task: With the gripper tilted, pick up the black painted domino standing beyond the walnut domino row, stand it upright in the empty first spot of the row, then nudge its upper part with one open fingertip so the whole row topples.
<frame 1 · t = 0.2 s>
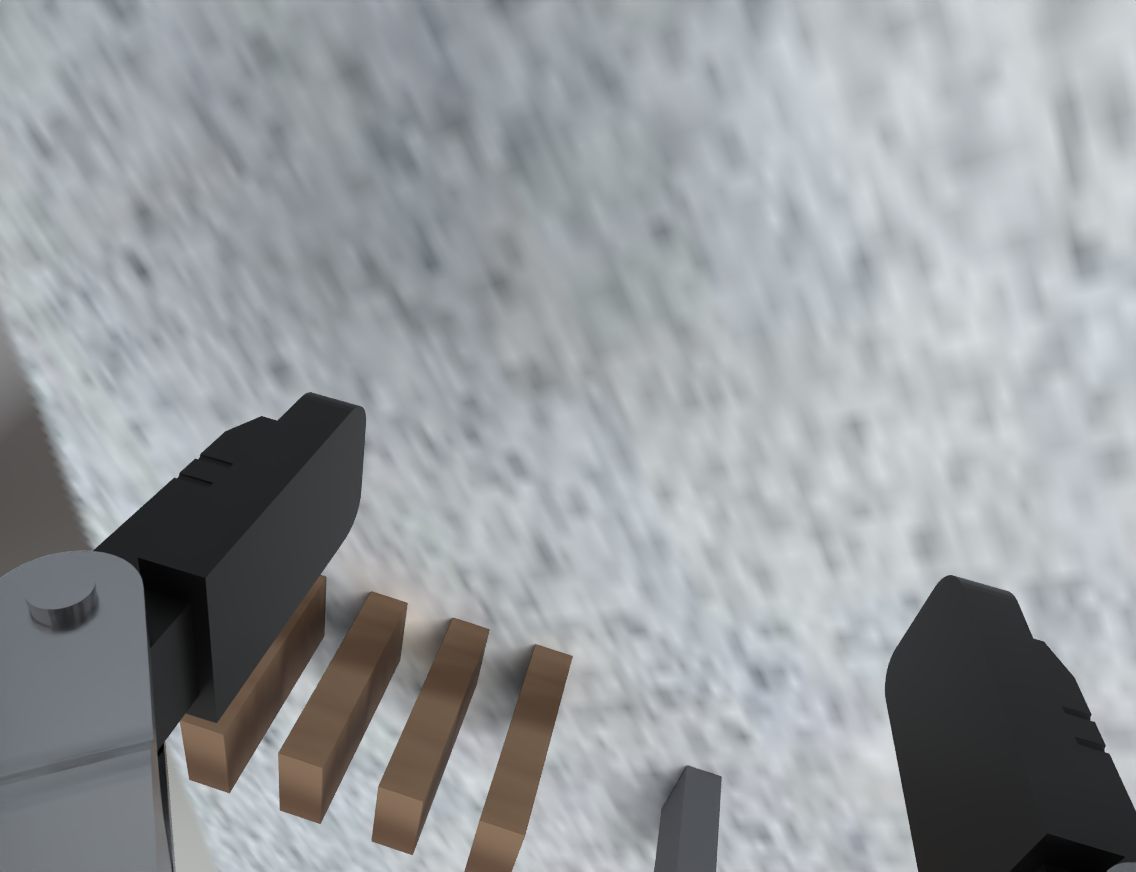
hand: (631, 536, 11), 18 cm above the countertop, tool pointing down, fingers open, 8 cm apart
domino 4: (386, 627, 42), on the countertop
domino 1: (690, 793, 45), on the countertop
domino 3: (465, 652, 42), on the countertop
domino 2: (544, 678, 42), on the countertop
domino 5: (307, 601, 42), on the countertop
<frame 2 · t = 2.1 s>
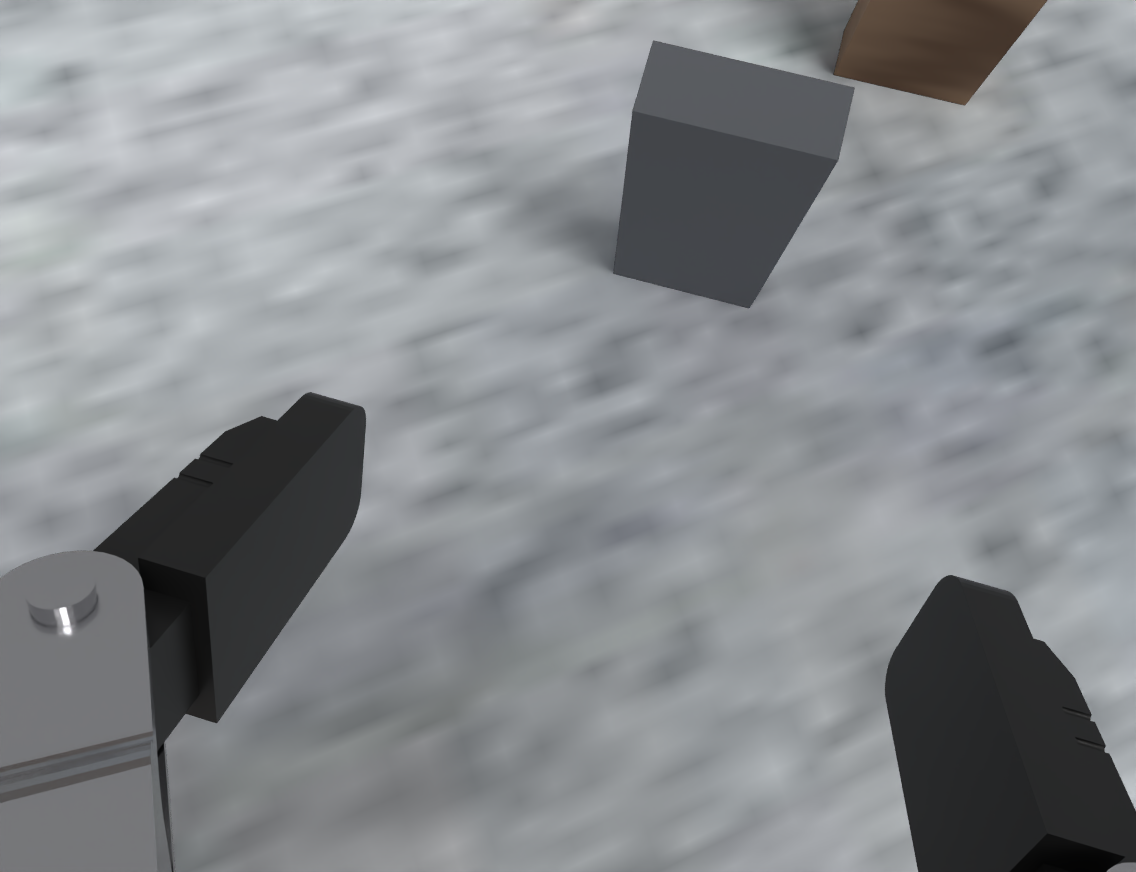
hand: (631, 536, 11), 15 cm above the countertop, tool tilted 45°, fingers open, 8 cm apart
domino 1: (687, 265, 28), on the countertop
domino 2: (903, 67, 30), on the countertop
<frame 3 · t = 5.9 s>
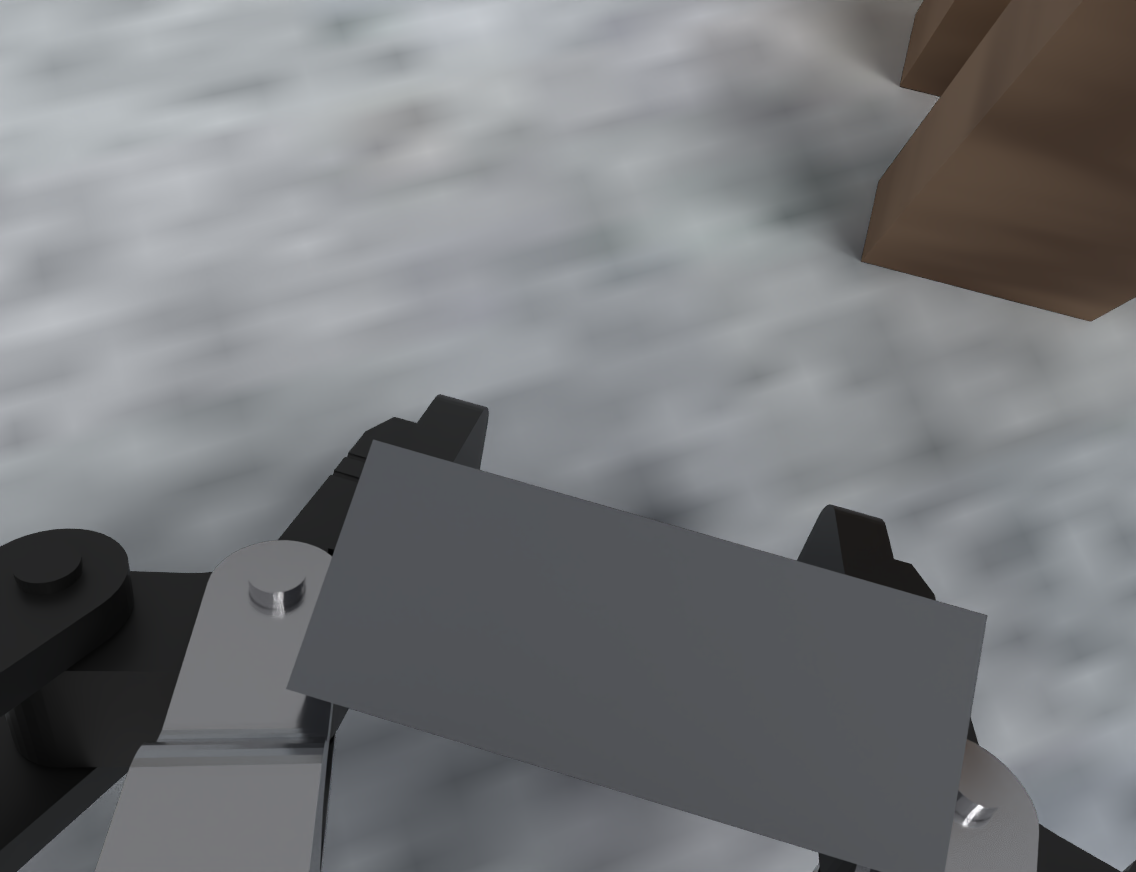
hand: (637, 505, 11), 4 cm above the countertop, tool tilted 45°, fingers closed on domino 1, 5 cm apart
domino 1: (594, 625, 15), on the countertop, touching gripper
domino 3: (1014, 76, 18), on the countertop
domino 2: (982, 249, 17), on the countertop
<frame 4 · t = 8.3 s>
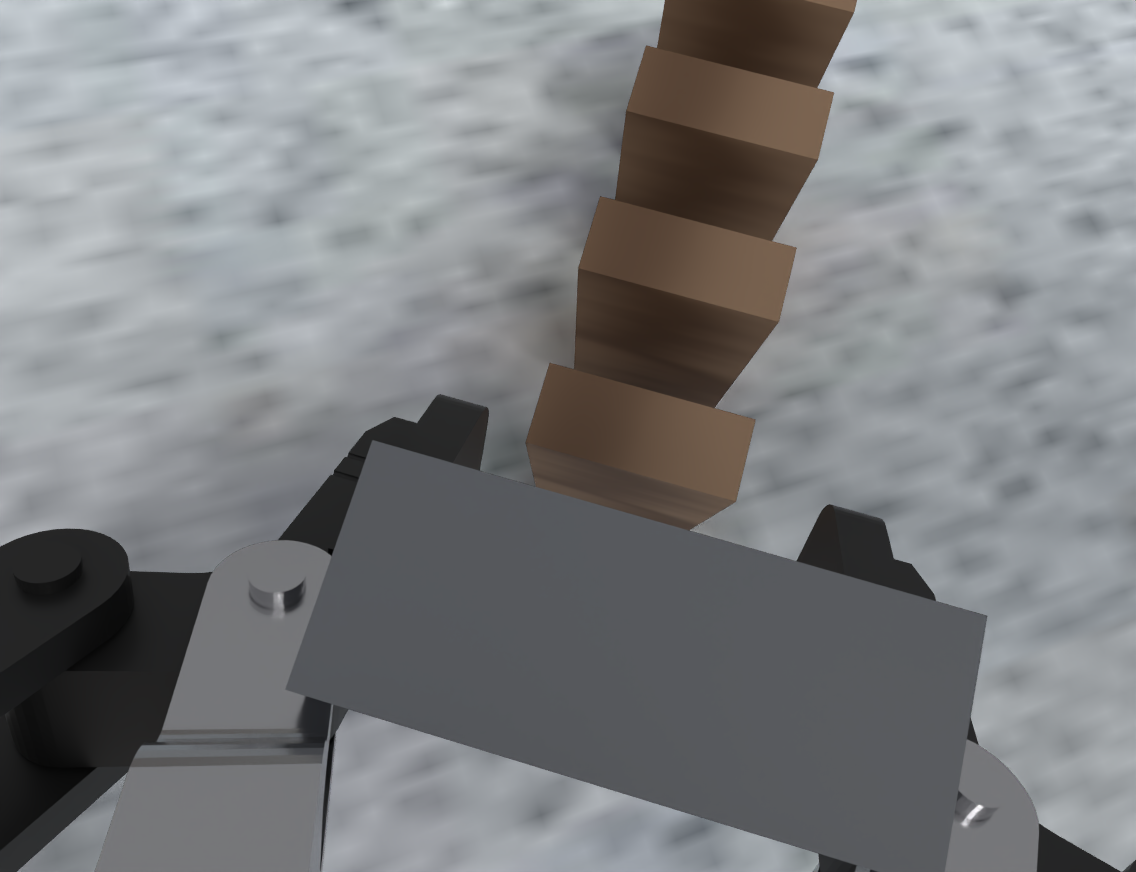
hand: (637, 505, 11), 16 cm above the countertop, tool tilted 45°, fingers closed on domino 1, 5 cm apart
domino 4: (677, 262, 29), on the countertop
domino 1: (594, 625, 15), point 11 cm above the countertop, touching gripper
domino 3: (647, 372, 28), on the countertop
domino 2: (614, 490, 27), on the countertop
domino 5: (706, 158, 30), on the countertop
when the fingers open (5 cm above the countertop, at t = 10.6 s): domino 1 stays where it is, on the countertop.
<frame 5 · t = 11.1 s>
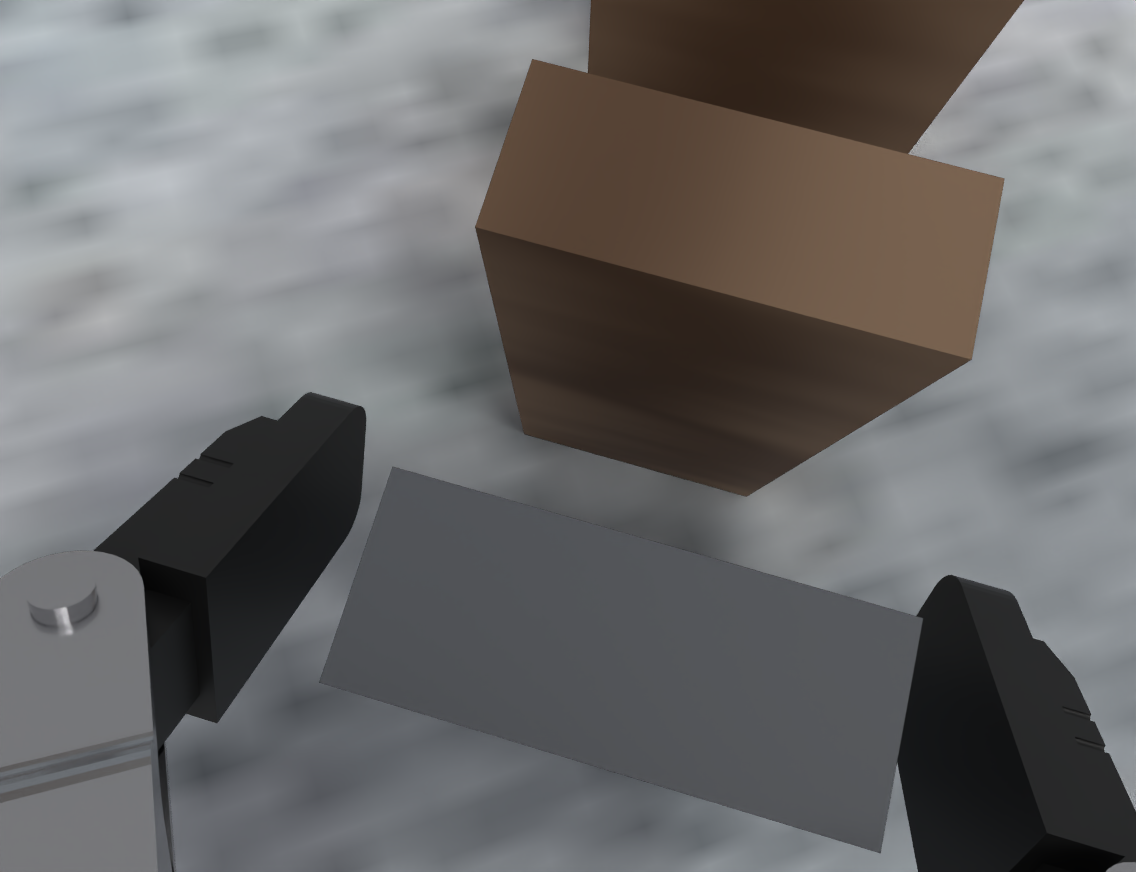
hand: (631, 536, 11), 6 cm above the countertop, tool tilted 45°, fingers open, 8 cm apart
domino 1: (590, 626, 16), on the countertop
domino 3: (695, 240, 18), on the countertop
domino 2: (646, 422, 17), on the countertop
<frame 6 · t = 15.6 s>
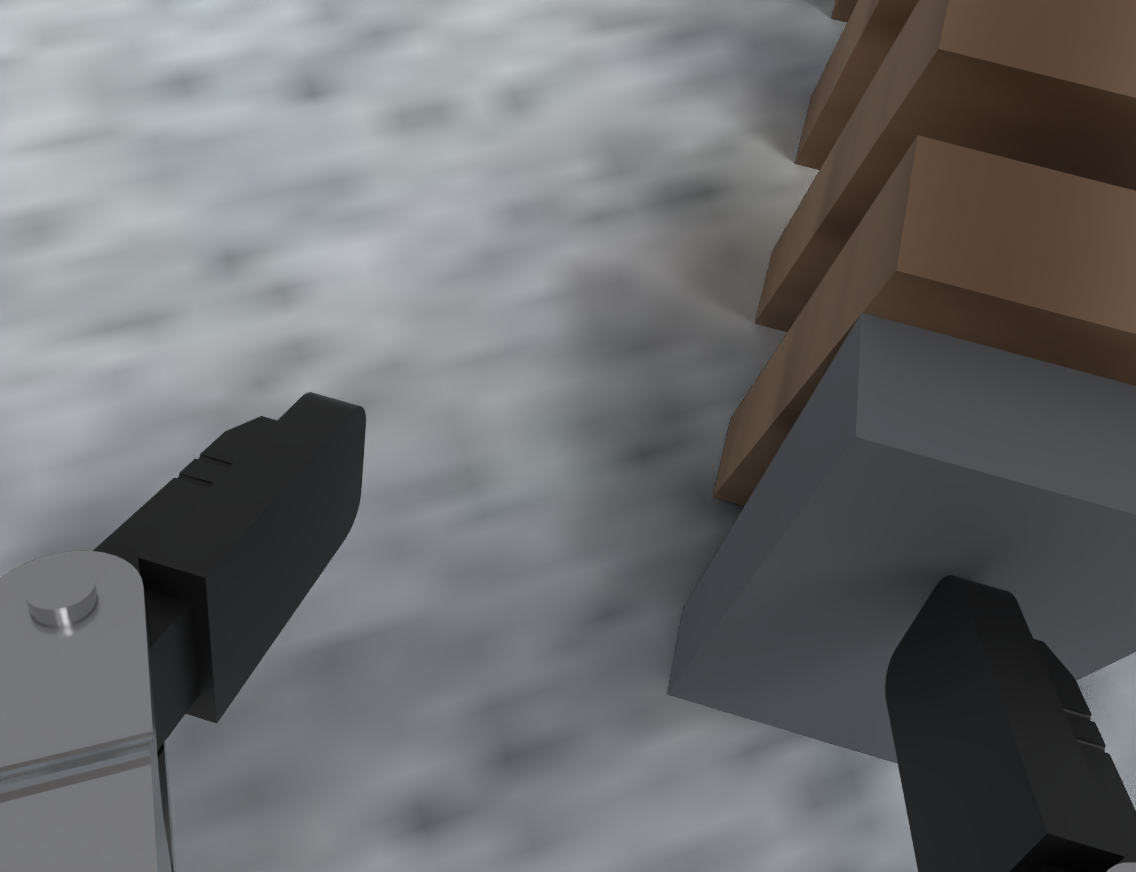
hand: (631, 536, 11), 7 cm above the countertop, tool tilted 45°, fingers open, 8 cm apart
domino 4: (898, 154, 20), on the countertop
domino 1: (787, 683, 17), on the countertop, tilted 23°
domino 3: (863, 312, 19), on the countertop
domino 2: (827, 487, 18), on the countertop, tilted 8°
domino 5: (930, 9, 21), on the countertop
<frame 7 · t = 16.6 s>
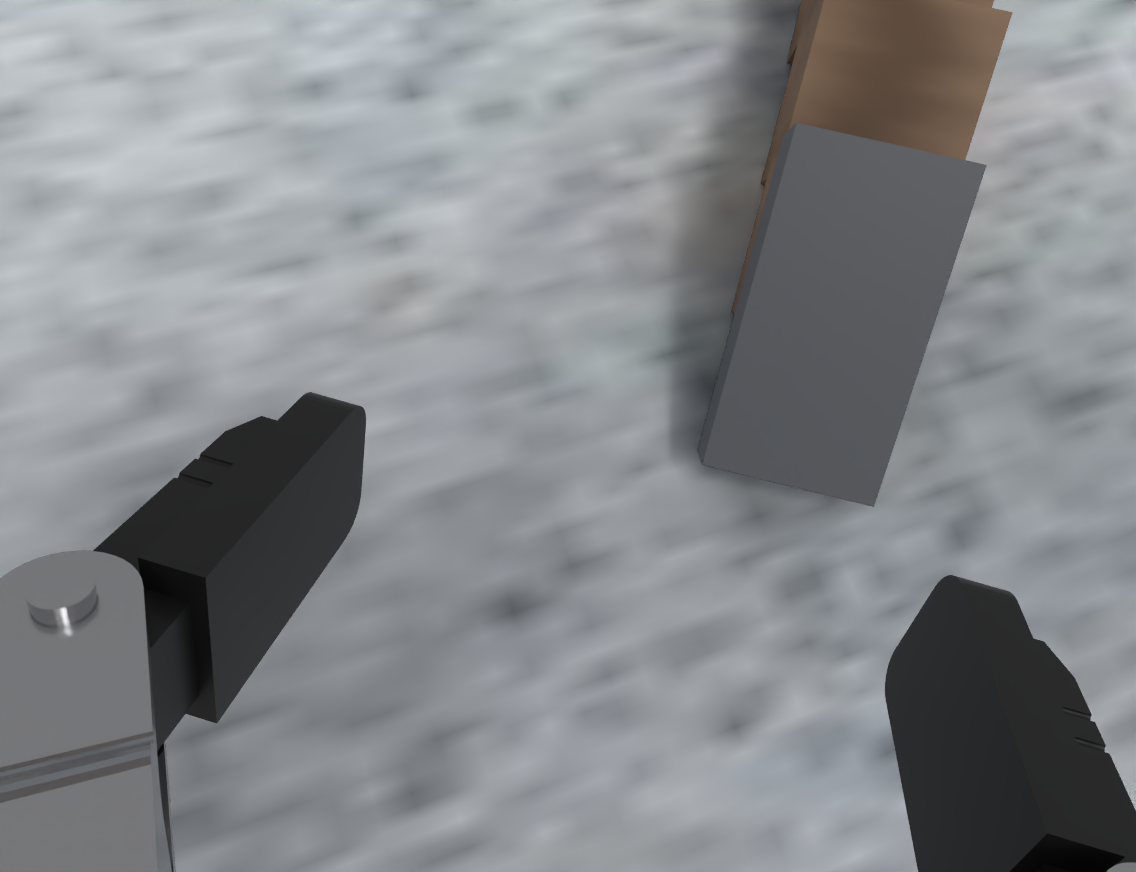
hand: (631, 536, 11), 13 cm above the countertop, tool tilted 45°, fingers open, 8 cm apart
domino 4: (866, 66, 26), point 1 cm above the countertop, tilted 70°, touching domino 3, domino 5
domino 1: (781, 476, 23), point 1 cm above the countertop, tilted 65°, touching domino 2
domino 3: (840, 197, 25), point 1 cm above the countertop, tilted 65°, touching domino 2, domino 4
domino 2: (813, 331, 24), point 1 cm above the countertop, tilted 65°, touching domino 1, domino 3
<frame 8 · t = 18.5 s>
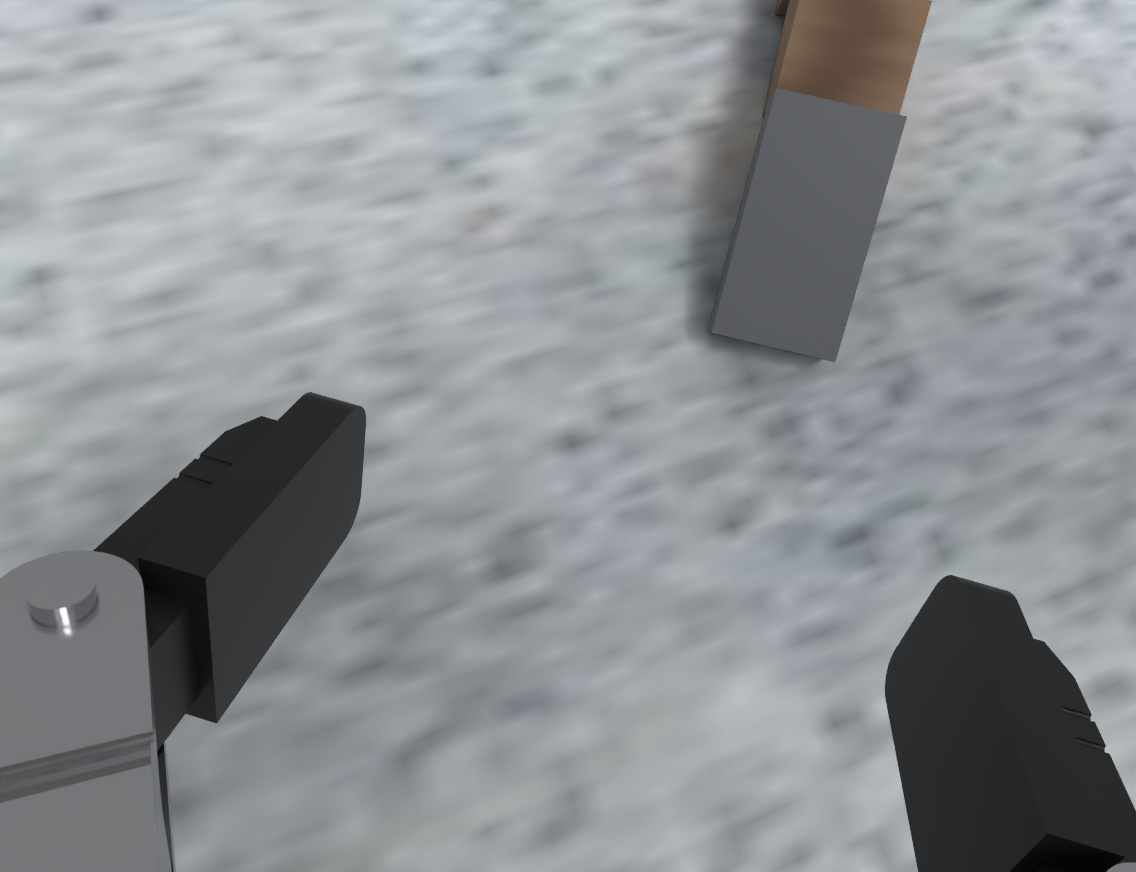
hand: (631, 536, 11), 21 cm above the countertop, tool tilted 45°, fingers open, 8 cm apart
domino 1: (769, 346, 32), point 1 cm above the countertop, tilted 68°, touching domino 2
domino 3: (821, 121, 34), point 1 cm above the countertop, tilted 68°, touching domino 2, domino 4
domino 2: (797, 232, 33), point 1 cm above the countertop, tilted 68°, touching domino 1, domino 3
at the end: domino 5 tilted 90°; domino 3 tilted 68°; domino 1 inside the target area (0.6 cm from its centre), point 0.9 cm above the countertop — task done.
